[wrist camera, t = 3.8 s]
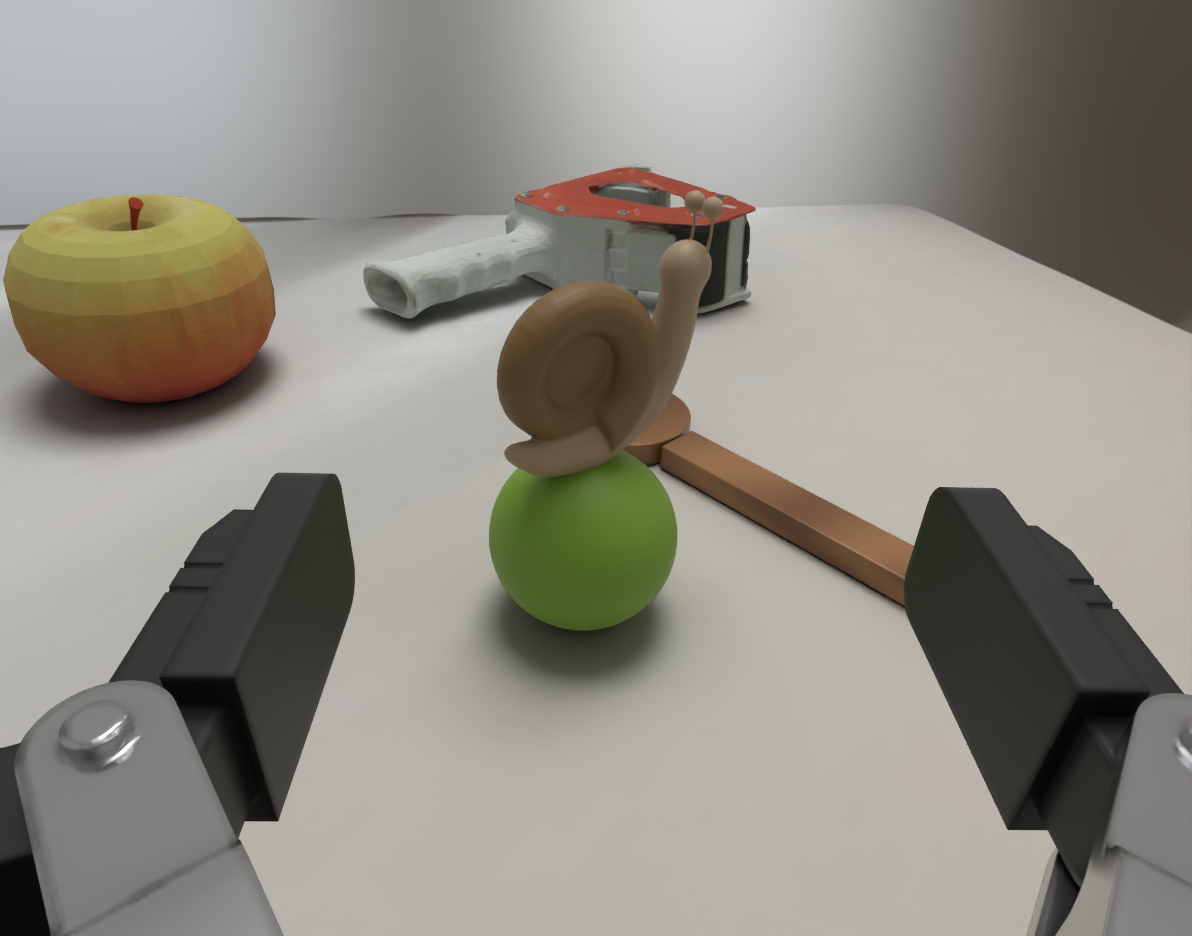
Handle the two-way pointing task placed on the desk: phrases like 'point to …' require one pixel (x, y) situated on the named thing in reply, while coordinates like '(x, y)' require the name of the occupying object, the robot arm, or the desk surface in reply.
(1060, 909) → the robot arm
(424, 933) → the desk surface
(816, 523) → the spoon
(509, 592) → the snail figurine
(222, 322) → the apple
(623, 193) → the tape dispenser
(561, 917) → the desk surface
